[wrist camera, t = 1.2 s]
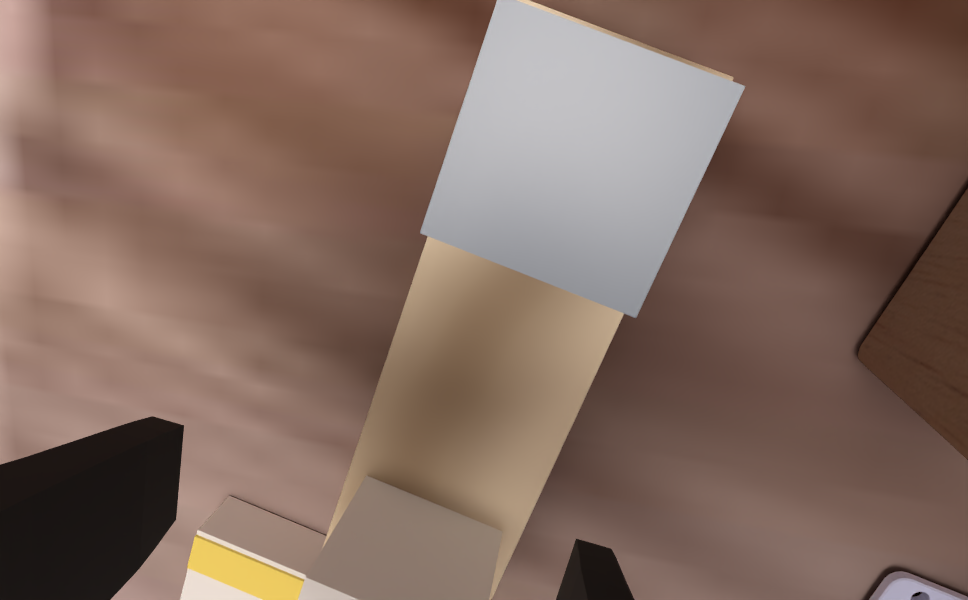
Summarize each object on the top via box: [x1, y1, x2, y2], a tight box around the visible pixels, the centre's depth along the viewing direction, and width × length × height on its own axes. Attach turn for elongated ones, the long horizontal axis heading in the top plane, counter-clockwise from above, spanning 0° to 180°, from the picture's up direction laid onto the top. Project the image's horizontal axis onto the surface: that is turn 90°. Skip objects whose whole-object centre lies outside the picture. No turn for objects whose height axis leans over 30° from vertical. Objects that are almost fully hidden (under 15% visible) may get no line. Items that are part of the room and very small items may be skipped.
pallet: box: [322, 0, 734, 600], centre depth 18 cm, size 5×17×4 cm, turn 160°
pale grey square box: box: [420, 0, 745, 318], centre depth 12 cm, size 4×4×4 cm
